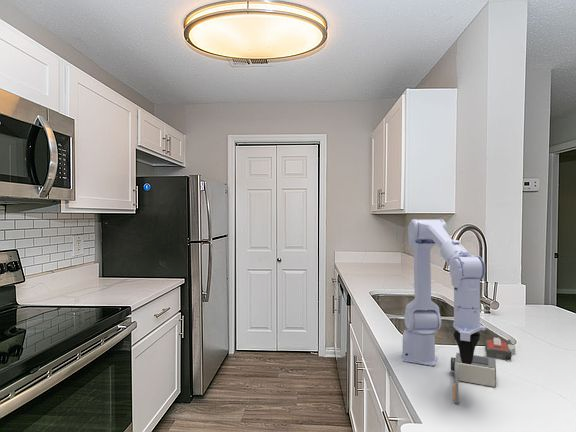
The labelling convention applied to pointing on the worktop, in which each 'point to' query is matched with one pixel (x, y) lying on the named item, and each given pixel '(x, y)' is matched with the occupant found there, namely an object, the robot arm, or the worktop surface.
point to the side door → (455, 384)
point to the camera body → (476, 370)
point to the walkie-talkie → (499, 349)
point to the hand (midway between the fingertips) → (466, 362)
